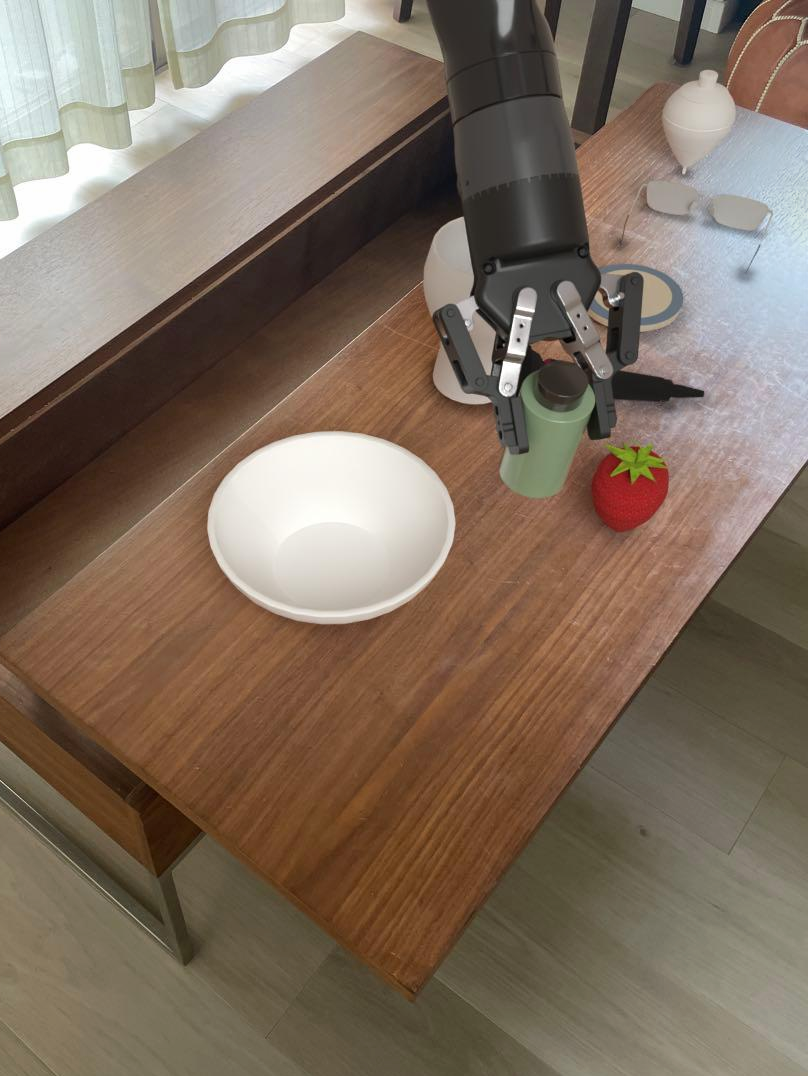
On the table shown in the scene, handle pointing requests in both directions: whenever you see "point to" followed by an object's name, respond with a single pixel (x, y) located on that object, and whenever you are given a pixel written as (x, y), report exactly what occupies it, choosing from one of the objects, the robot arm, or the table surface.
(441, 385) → the cup
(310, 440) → the bowl
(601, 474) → the strawberry
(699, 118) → the spinning top
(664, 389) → the microphone
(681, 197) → the eyeglasses
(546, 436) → the pepper shaker
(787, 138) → the table surface
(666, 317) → the saucer
